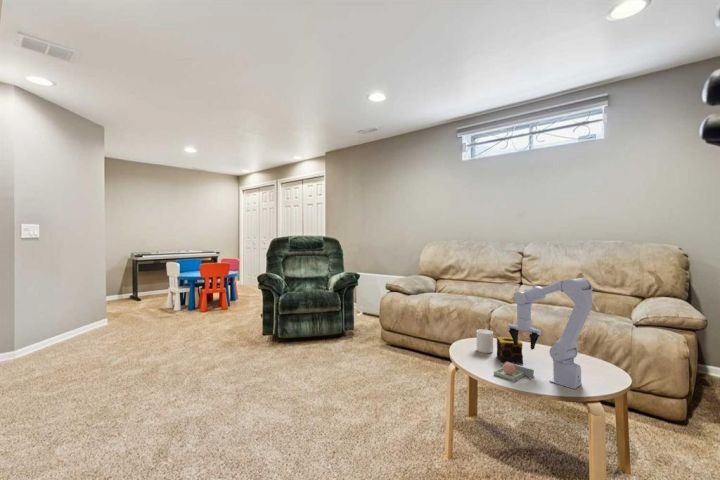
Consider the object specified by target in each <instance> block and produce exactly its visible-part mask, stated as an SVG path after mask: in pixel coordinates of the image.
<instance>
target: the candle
mask: <svg viewBox="0 0 720 480" xmlns="http://www.w3.org/2000/svg"><path fill="white" fill-rule="evenodd" d="M522 351H523V343H522V342H521V341H520V340H519V339H518V345H516V346H515V345H514V342H513V339H512V336H510V337H509V336H496V357H497V359H498V360H499V362H500V363H502V364H505V363H506V362H509V363H513V364H516V365H523V364H524V360H523V359H524V358H523V357H524V356H523V352H522Z"/></svg>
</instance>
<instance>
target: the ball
mask: <svg viewBox="0 0 720 480" xmlns="http://www.w3.org/2000/svg"><path fill="white" fill-rule="evenodd" d="M513 364H514V363H513ZM513 364H511V363H503V365H502V367H503V371H504V372H505V373H506V374H508V375H512V374H514V373H515V367H514V365H513Z"/></svg>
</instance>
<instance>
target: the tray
mask: <svg viewBox="0 0 720 480" xmlns="http://www.w3.org/2000/svg"><path fill="white" fill-rule="evenodd" d="M493 375H494V376H495V377H499V378H503V379H505V380H509V381H511V382H516V381H517V380H520V379H522V378H523V377H525V376H524V372H522V371H518V370H515V373H514V374H512V375H508V374H506V373H505V372H504V371H503V366H502V367H499V368H498V369H496V370H493Z"/></svg>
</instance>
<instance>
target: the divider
mask: <svg viewBox="0 0 720 480" xmlns="http://www.w3.org/2000/svg"><path fill="white" fill-rule="evenodd" d="M506 363H509V362H506ZM511 364H513V365H514V367H515V370H518V371H522V372H524V376H523V377H528V379H531V380H532V379H534V378H535V374H534V371H535V369H533V368H529V367H526V366H523V365H521V364H516V363H511Z"/></svg>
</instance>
